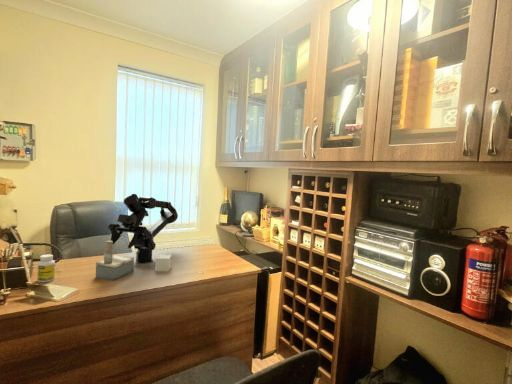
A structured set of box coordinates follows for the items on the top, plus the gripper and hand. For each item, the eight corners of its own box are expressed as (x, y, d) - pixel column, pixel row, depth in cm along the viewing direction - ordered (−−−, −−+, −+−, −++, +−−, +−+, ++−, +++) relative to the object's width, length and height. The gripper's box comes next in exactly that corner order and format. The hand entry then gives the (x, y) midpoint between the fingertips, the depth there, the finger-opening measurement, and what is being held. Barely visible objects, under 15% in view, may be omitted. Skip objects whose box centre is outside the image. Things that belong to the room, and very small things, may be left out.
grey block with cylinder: (116, 257, 126) (117, 235, 125) (133, 259, 124) (134, 237, 123) (96, 264, 114) (96, 241, 114) (114, 267, 112) (115, 243, 112)
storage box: (116, 268, 126) (116, 257, 126) (133, 271, 124) (133, 260, 124) (95, 277, 114) (95, 265, 114) (114, 280, 113) (114, 268, 112)
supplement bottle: (35, 283, 106) (35, 258, 105) (39, 278, 111) (40, 254, 110) (52, 281, 108) (53, 257, 107) (56, 277, 113) (56, 253, 112)
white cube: (155, 271, 126) (155, 258, 126) (157, 267, 132) (158, 254, 132) (168, 271, 127) (169, 258, 126) (170, 267, 133) (171, 254, 132)
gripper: (111, 206, 127) (91, 234, 117) (146, 209, 123) (129, 238, 113) (122, 220, 135) (105, 248, 125) (156, 223, 131) (141, 252, 121)
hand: (119, 246), depth 121 cm, fingers open, 9 cm apart
